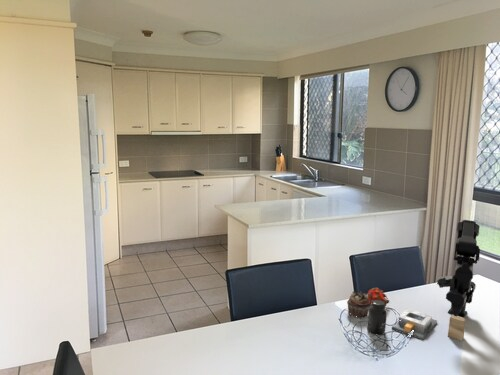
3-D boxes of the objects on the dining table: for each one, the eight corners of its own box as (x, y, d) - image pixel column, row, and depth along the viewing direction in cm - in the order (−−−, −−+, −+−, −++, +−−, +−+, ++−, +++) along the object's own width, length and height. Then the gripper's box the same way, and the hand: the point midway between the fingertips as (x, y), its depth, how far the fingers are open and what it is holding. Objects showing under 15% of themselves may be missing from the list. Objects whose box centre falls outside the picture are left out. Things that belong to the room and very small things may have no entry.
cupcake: (374, 315, 181) (376, 293, 179) (358, 321, 176) (360, 298, 174) (357, 306, 189) (358, 285, 187) (341, 311, 183) (343, 290, 182)
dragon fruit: (369, 302, 197) (384, 317, 186) (358, 294, 194) (372, 309, 183) (381, 288, 197) (396, 303, 186) (370, 280, 193) (385, 294, 182)
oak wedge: (449, 333, 168) (452, 314, 167) (463, 337, 165) (466, 318, 164) (447, 336, 166) (450, 317, 164) (461, 340, 163) (464, 321, 161)
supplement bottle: (386, 336, 164) (388, 307, 162) (367, 334, 165) (370, 305, 163) (384, 328, 171) (386, 299, 169) (366, 325, 172) (368, 297, 170)
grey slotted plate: (407, 313, 184) (408, 304, 183) (436, 322, 176) (437, 313, 176) (391, 328, 170) (392, 319, 169) (422, 339, 163) (423, 329, 162)
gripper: (447, 261, 173) (443, 297, 176) (433, 274, 159) (429, 313, 162) (478, 268, 166) (473, 306, 169) (466, 282, 152) (461, 323, 155)
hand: (458, 311), depth 164 cm, fingers open, 9 cm apart
